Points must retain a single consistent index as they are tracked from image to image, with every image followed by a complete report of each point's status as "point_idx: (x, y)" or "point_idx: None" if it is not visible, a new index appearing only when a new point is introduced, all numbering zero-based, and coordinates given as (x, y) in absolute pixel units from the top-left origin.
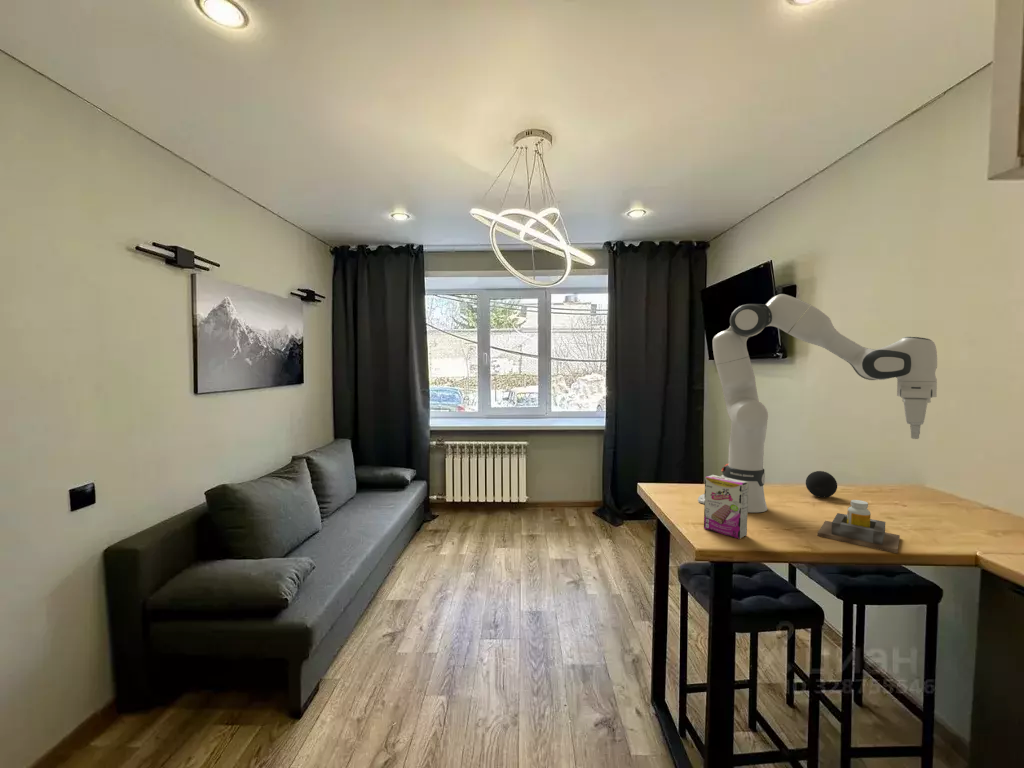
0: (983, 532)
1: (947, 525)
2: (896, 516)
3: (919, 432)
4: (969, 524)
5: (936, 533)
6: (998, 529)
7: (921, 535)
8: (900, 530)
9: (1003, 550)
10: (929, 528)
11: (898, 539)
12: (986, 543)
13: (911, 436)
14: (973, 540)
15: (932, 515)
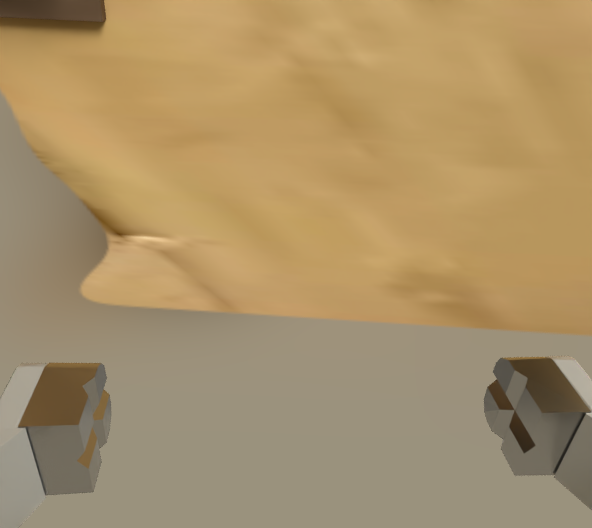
0: (422, 265)
1: (450, 182)
2: (490, 11)
3: (504, 436)
4: (506, 239)
5: (305, 146)
6: (487, 298)
7: (232, 98)
8: (248, 24)
9: (242, 293)
10: (363, 127)
11: (24, 15)
12: (288, 264)
13: (11, 381)
14: (297, 238)
15: (581, 143)
